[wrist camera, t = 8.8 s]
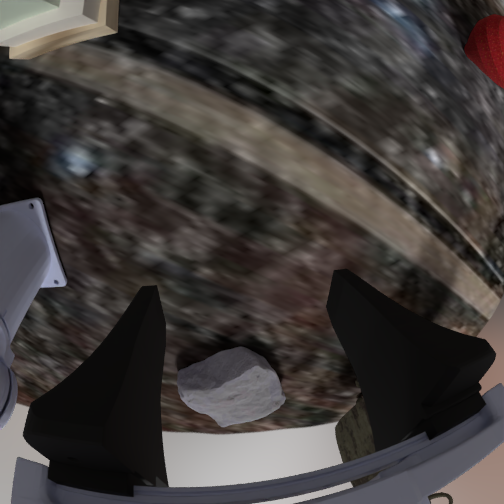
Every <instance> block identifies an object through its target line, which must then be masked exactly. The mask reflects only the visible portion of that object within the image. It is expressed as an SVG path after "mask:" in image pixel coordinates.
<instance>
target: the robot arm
mask: <svg viewBox="0 0 504 504" xmlns="http://www.w3.org/2000/svg"><path fill="white" fill-rule="evenodd" d="M31 203H32V204H33V205H34V207H32V206H31ZM56 280H57V281H58V282H57V281H56ZM66 283H67V279H66V276H65V273H64V271H63V268H62V265H61V262H60V259H59V256H58V253H57V250H56V247H55V244H54V241H53V238H52V234H51V231H50V227H49V224H48V220H47V217H46V213H45V209H44V205H43V202H42V200H41V199H40V198H32V199H27V200H22V201H18V202H13V203H8V204H4V205H0V430H1V429H2V428H3V427H4V426H5V425H6V424H7V422H8V421H9V419H10V418H11V416H12V413H13V411H14V407H15V404H16V400H17V392H18V387H17V380H16V377H15V375H14V373H13V371H12V370H11V369H10V366H11V364H12V361H13V359H14V357H15V355H14V354H13V352H12V350H11V349H10V344H11V342H12V340H13V337H14V335H15V333H16V331H17V329H18V327H19V325H20V323H21V321H22V319H23V317H24V315H25V314H26V312H27V310H28V308H29V306H30V304H31V302H32V301H33V299H34V297H35V295H36V294H37V292H38V290H39V288H40V287H62V286H65V285H66ZM326 308H327V311H328V314H329V317H330V320H331V323H332V326H333V328H334V330H335V332H336V334H337V336H338V338H339V340H340V342H341V344H342V346H343V348H344V350H345V352H346V355H347V357H348V359H349V361H350V363H351V365H352V367H353V369H354V371H355V374H356V376H357V379H358V382H359V385H360V388H361V391H362V395H363V398H364V401H365V405H366V408H367V412H368V416H369V421H370V425H371V429H372V435H373V440H374V446H375V453H373V454H370V455H367V456H364V457H361V458H358V459H355V460H352V461H349V462H346V463H342V464H339V465H336V466H332V467H328V468H324V469H321V470H317V471H313V472H309V473H304V474H299V475H295V476H290V477H285V478H279V479H274V480H268V481H261V482H254V483H247V484H237V485H226V486H212V487H175V488H174V487H169V486H168V480H167V473H166V467H165V459H164V450H163V441H162V426H161V403H160V398H161V384H162V374H163V365H164V356H165V347H166V322H165V318H164V314H163V310H162V305H161V301H160V297H159V292H158V288H157V285H154V286H142V287H141V288H140V290H139V291H138V293H137V294H136V296H135V297H134V299H133V300H132V302H131V303H130V305H129V306H128V308H127V309H126V311H125V312H124V314H123V315H122V317H121V318H120V320H119V321H118V322H117V324H116V325H115V326H114V328H113V329H112V330H111V332H110V333H109V334H108V336H107V337H106V338H105V339H104V341H103V342H102V343H101V344H100V345H99V347H98V348H97V349H96V350H95V351H94V352H93V353H92V354H91V356H90V357H89V358H88V359H87V360H85V361H84V362H83V363H82V364H81V365H80V366H79V367H78V368H77V369H76V370H75V371H74V372H73V373H72V374H70V375H69V376H68V377H67V378H66V379H64V380H63V381H62V382H61V383H59V384H58V385H57V386H55V387H54V388H53V389H51V390H50V391H48V392H47V393H45V394H44V395H42V396H41V397H39V398H38V399H36V400H35V401H33V402H31V405H30V408H29V411H28V415H27V419H26V423H25V427H24V431H23V437H24V439H25V440H26V442H27V443H28V444H29V445H30V446H31V447H33V448H34V449H35V450H37V451H38V452H39V453H41V454H42V455H43V456H45V457H46V458H48V459H49V460H50V463H49V467H47V466H45V465H43V464H40V463H37V462H33V461H30V460H27V459H23V458H20V457H18V458H17V461H16V467H15V473H14V481H13V488H12V498H11V504H252V503H259V502H265V501H272V500H278V499H283V498H288V497H293V496H298V495H302V494H306V493H311V492H315V491H319V490H323V489H326V488H330V487H334V486H337V485H340V484H343V483H347V482H350V481H353V480H356V479H359V478H362V477H365V476H367V475H370V474H373V473H375V472H378V471H381V470H383V469H385V470H383V471H381V472H379V473H378V475H377V476H376V477H374V478H373V479H372V480H370V481H368V482H367V483H365V484H362V485H359V486H356V487H353V488H350V489H346V490H343V491H340V492H337V493H333V494H330V495H326V496H322V497H319V498H315V499H311V500H307V501H303V502H299V503H295V504H430V501H429V499H428V496H429V495H431V494H433V493H434V492H436V491H438V490H439V489H441V488H442V487H444V486H446V485H447V484H449V483H450V482H452V481H453V480H455V479H456V478H458V477H459V476H461V475H462V474H464V473H465V472H466V471H468V470H469V469H471V468H472V467H473V466H475V465H476V464H477V463H479V462H480V461H481V460H482V459H484V458H485V457H486V456H487V455H489V454H490V453H491V452H492V451H493V450H495V449H496V448H497V447H498V446H499V445H500V444H502V443H503V442H504V387H503V385H502V384H501V383H499V384H498V385H496V386H495V387H493V388H492V389H490V390H489V391H487V392H486V393H485V394H484V395H483V396H481V395H480V393H479V391H480V390H481V385H480V384H479V381H480V380H481V378H482V377H483V376H484V374H485V373H486V372H487V371H488V369H489V368H490V367H491V365H492V364H493V362H494V360H495V357H496V353H495V351H494V350H493V348H492V347H491V346H490V344H489V343H488V342H487V341H486V340H485V339H481V338H477V337H473V336H469V335H465V334H462V333H459V332H456V331H453V330H450V329H447V328H445V327H442V326H440V325H438V324H435V323H433V322H431V321H428V320H426V319H424V318H422V317H420V316H419V315H417V314H415V313H413V312H411V311H409V310H408V309H406V308H404V307H402V306H401V305H399V304H398V303H396V302H395V301H393V300H391V299H390V298H388V297H387V296H385V295H384V294H382V293H381V292H380V291H378V290H377V289H375V288H374V287H372V286H371V285H370V284H368V283H367V282H365V281H364V280H363V279H361V278H360V277H358V276H357V275H355V274H354V273H352V272H351V271H349V270H348V269H341V270H334V272H333V277H332V282H331V287H330V292H329V296H328V301H327V305H326ZM390 466H391V467H390ZM388 467H389V468H388ZM386 468H387V469H386Z"/></svg>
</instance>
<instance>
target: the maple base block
mask: <svg viewBox="0 0 504 504" xmlns="http://www.w3.org/2000/svg"><path fill="white" fill-rule="evenodd" d="M118 10H119V0H101V2H100V10H99V18H98V23H95V24H90V25H86V26H81V27H77V28H73V29H69V30H66V31H62V32H58V33H55V34H52V35H48V36H45V37H42V38H39V39H36V40H33V41H30V42H27V43H25V44H22V45H19V46H17V47H10V53H9V59H31V58H34V57H36V56H39V55H41V54H44V53H47V52H50V51H53V50H55V49H58V48H62V47H65V46H68V45H71V44H74V43H78V42H81V41H85V40H89V39H92V38H96V37H100V36H105V35H109V34H114V33H118Z"/></svg>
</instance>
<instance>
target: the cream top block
mask: <svg viewBox="0 0 504 504" xmlns="http://www.w3.org/2000/svg"><path fill="white" fill-rule="evenodd" d="M100 2H101V0H60V6H59V8H56V9H53V10H50V11H47V12H44V13H41V14H38V15H35V16H32V17H30V18H27V19H24V20H22V21H19V22H17V23H14V24H12V25H10V26H7V27H5V28H3V29H0V46H9V47H17V46H19V45H22V44H25V43H27V42H30V41H33V40H36V39H39V38H42V37H45V36H48V35H52V34H55V33H58V32H62V31H66V30H69V29H73V28H77V27H81V26H86V25H90V24H95V23H98V18H99V10H100Z"/></svg>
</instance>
